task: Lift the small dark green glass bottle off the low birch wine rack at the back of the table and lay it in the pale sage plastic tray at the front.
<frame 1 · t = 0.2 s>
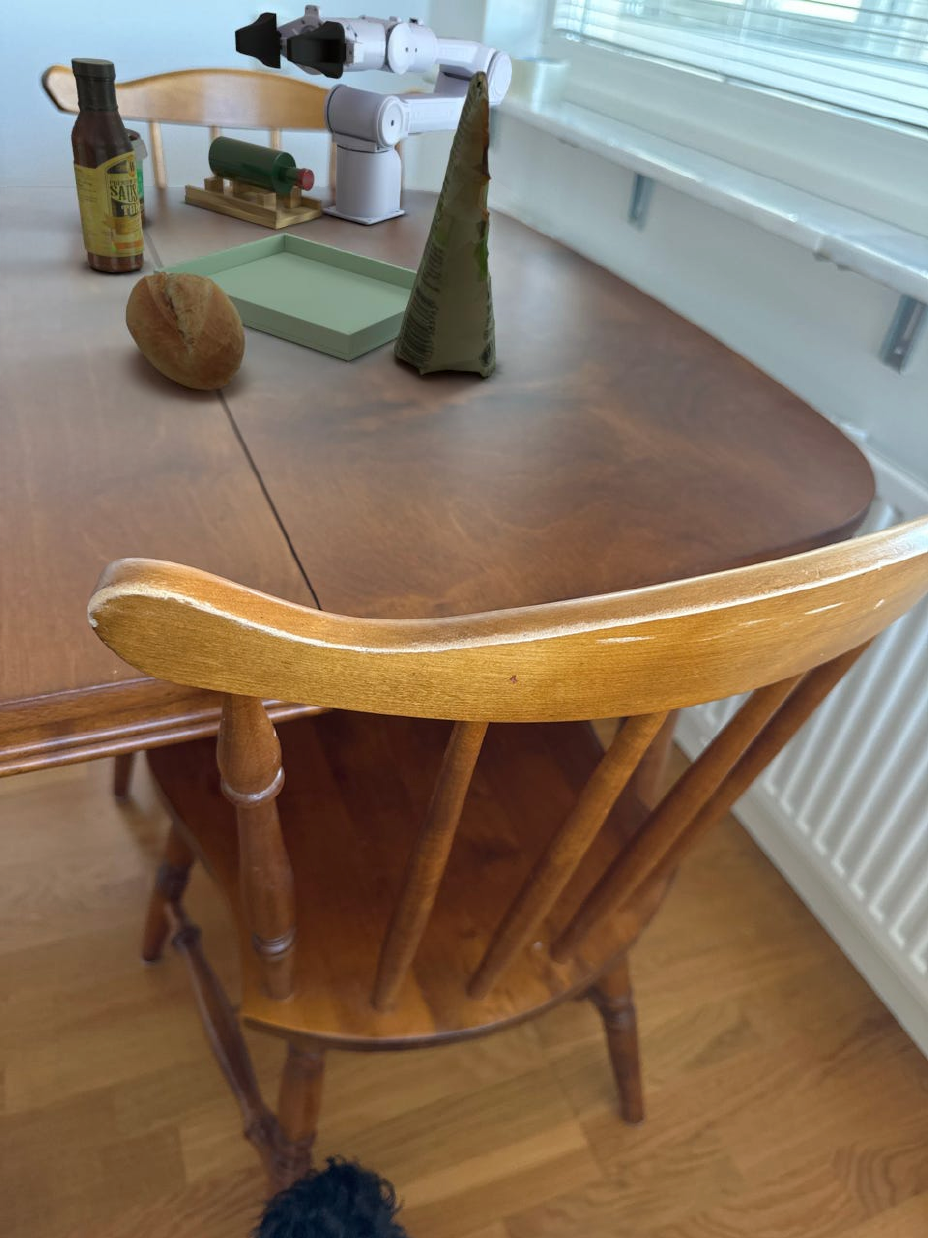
hand: (262, 45, 101), 21 cm above the table, tool horizontal, fingers open, 7 cm apart
bottle: (252, 165, 121), point 6 cm above the table, touching rack
tray: (312, 301, 98), on the table
sauce bottle: (118, 267, 101), on the table
bread roll: (189, 369, 82), on the table
food container: (128, 225, 113), on the table
rack: (254, 209, 124), on the table
olive green tall cone: (448, 364, 89), on the table
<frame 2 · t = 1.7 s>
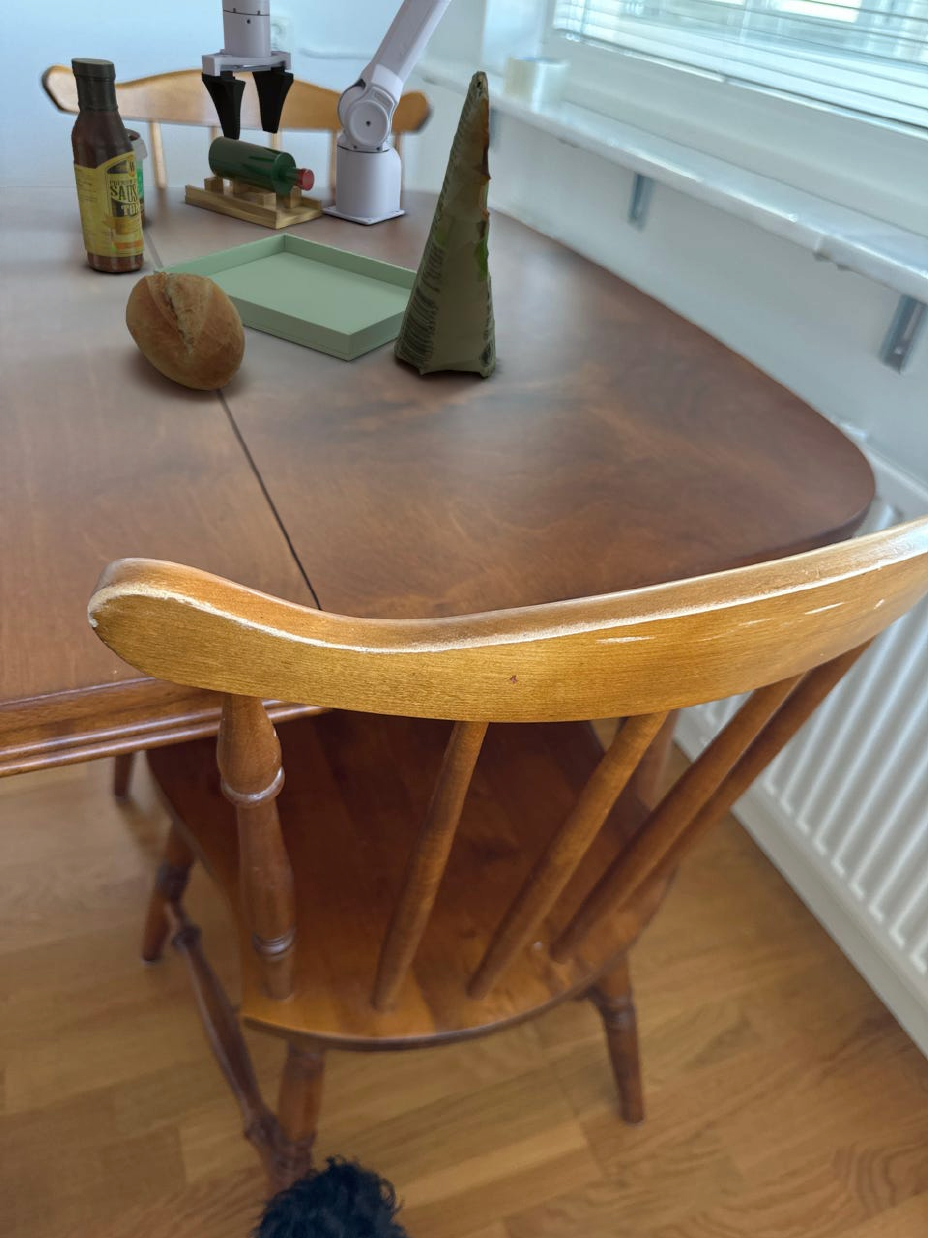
hand: (251, 135, 118), 9 cm above the table, tool pointing down, fingers open, 7 cm apart
nothing on the table moved.
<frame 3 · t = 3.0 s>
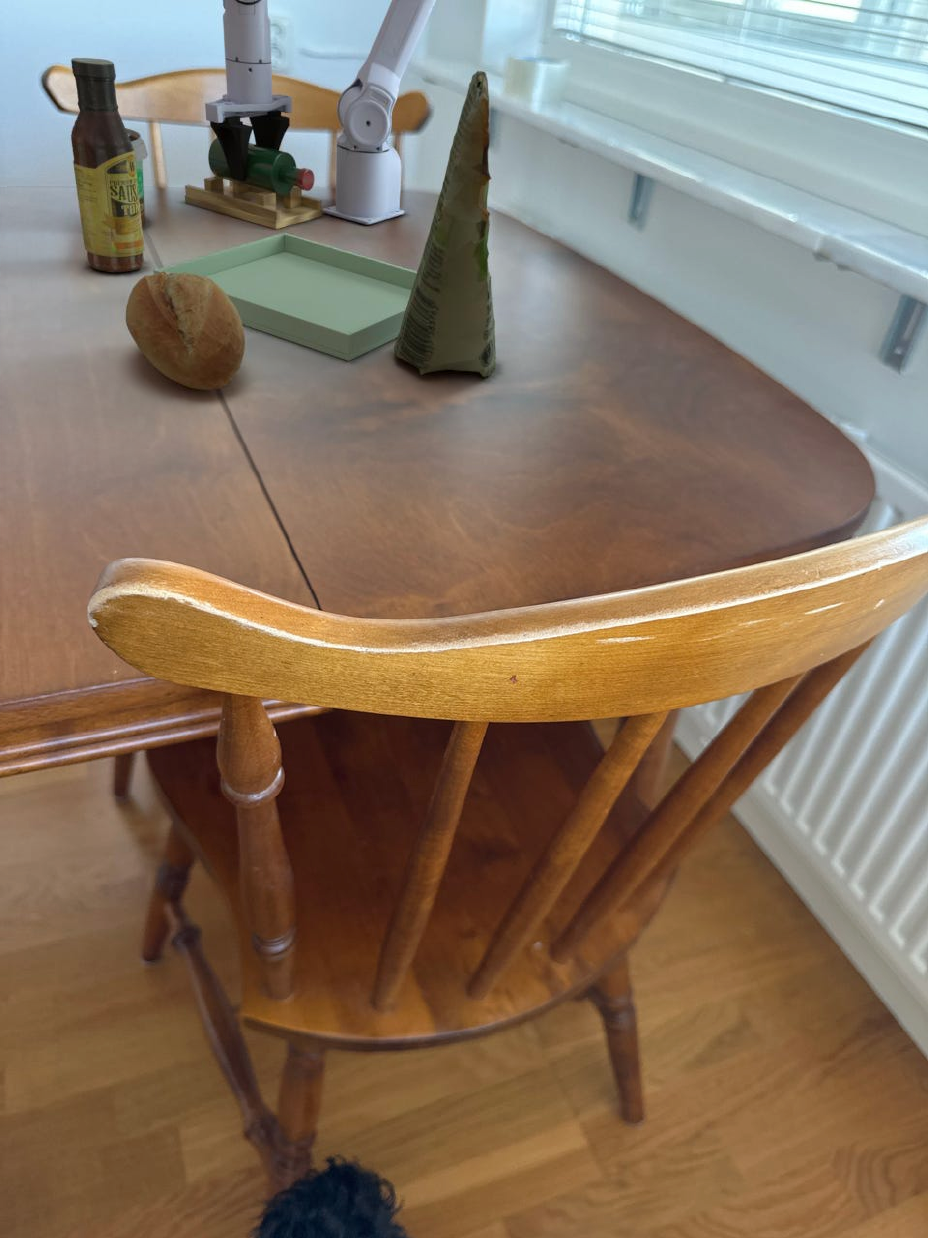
hand: (253, 176, 122), 4 cm above the table, tool pointing down, fingers closed on bottle, 5 cm apart
bottle: (252, 165, 121), point 6 cm above the table, touching gripper, rack
everything else where it was.
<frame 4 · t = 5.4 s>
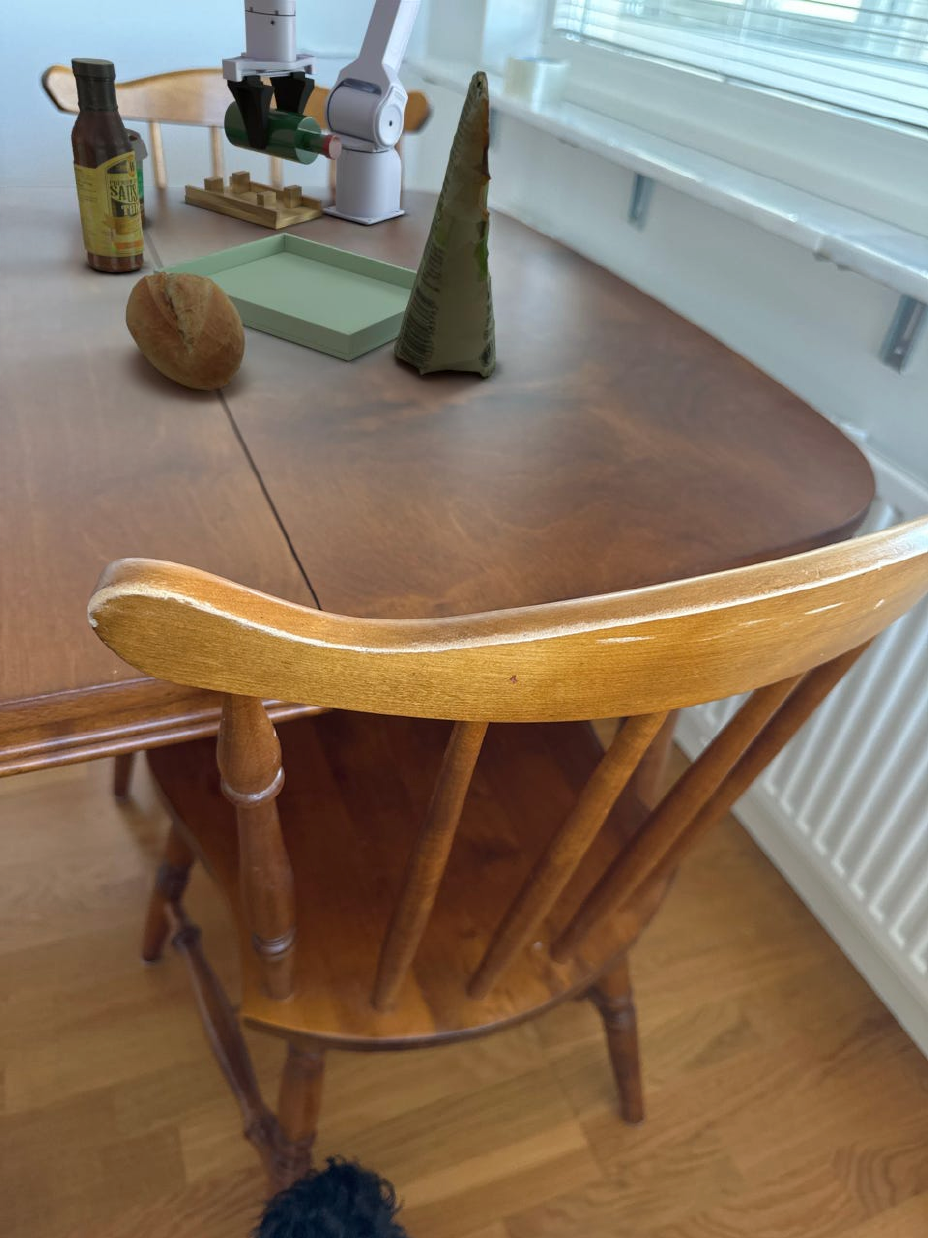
hand: (273, 144, 110), 10 cm above the table, tool pointing down, fingers closed on bottle, 5 cm apart
bottle: (272, 131, 109), point 12 cm above the table, touching gripper
everything else where it was.
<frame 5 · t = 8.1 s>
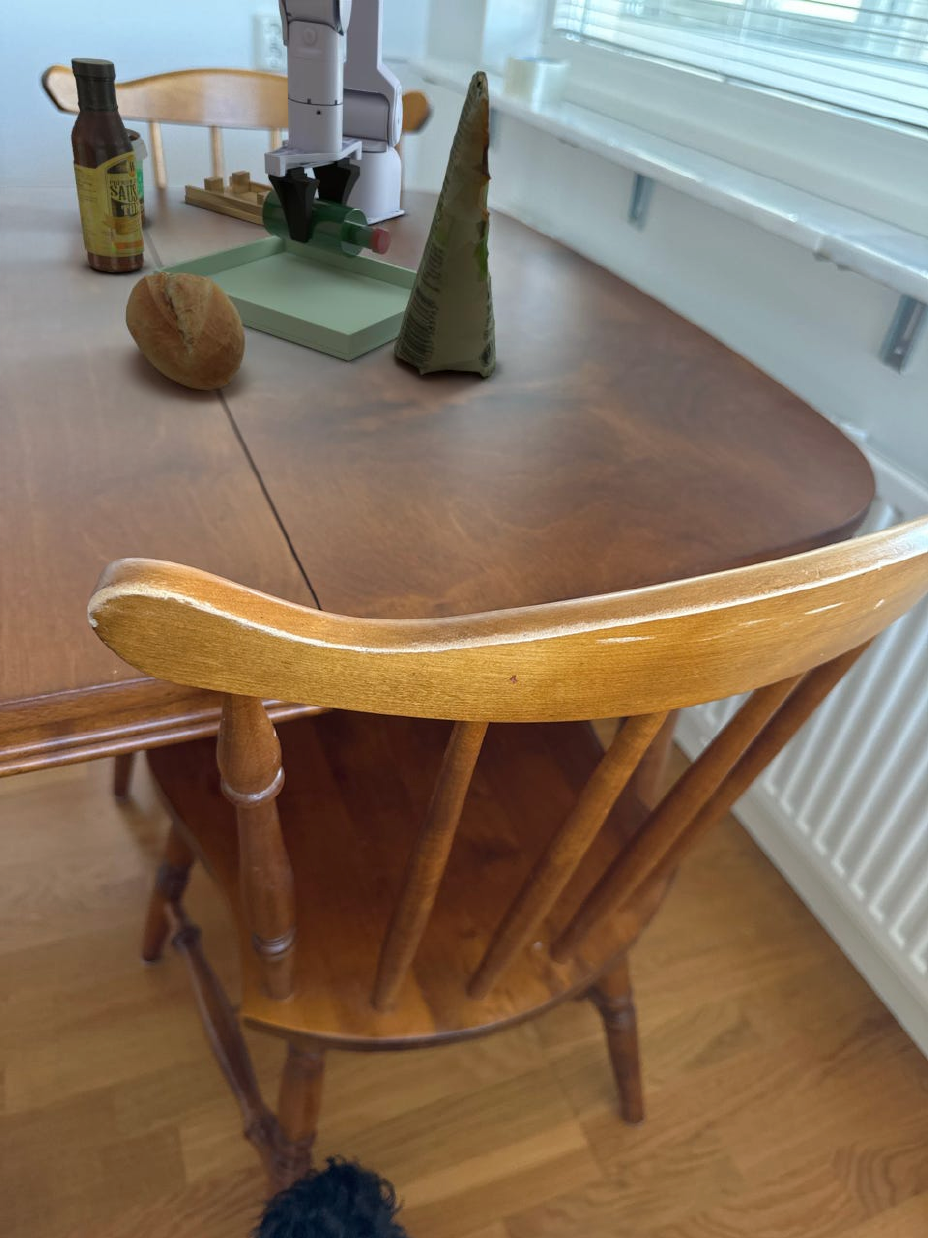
hand: (315, 235, 102), 5 cm above the table, tool pointing down, fingers closed on bottle, 5 cm apart
bottle: (314, 222, 101), point 6 cm above the table, touching gripper
everything else where it was.
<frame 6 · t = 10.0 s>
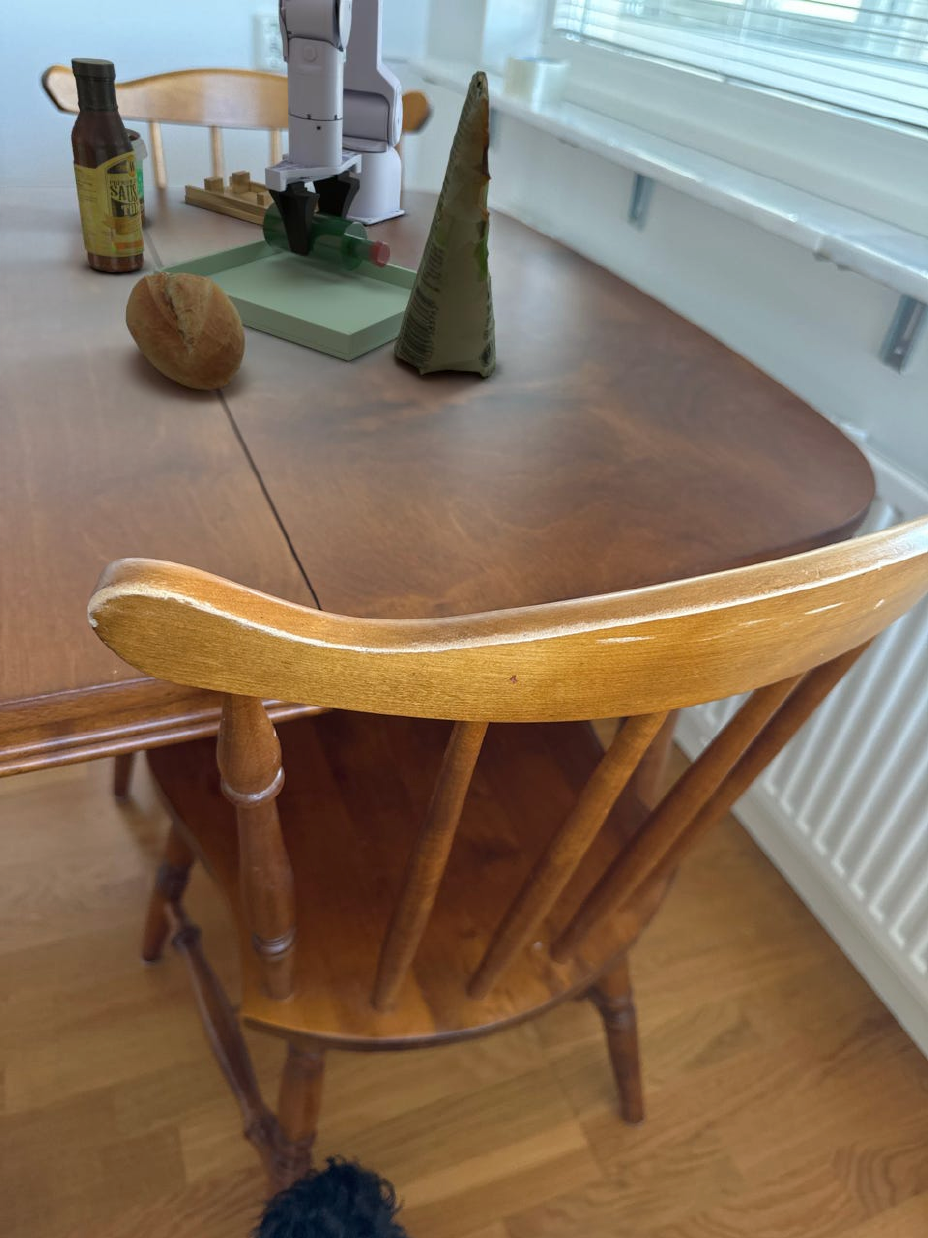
hand: (315, 248, 103), 3 cm above the table, tool pointing down, fingers closed on bottle, 5 cm apart
bottle: (314, 235, 102), point 5 cm above the table, touching gripper
everything else where it was.
when the fingers open (3 cm above the table, at t = 13.1 s): bottle drops 1 cm, resting on tray.
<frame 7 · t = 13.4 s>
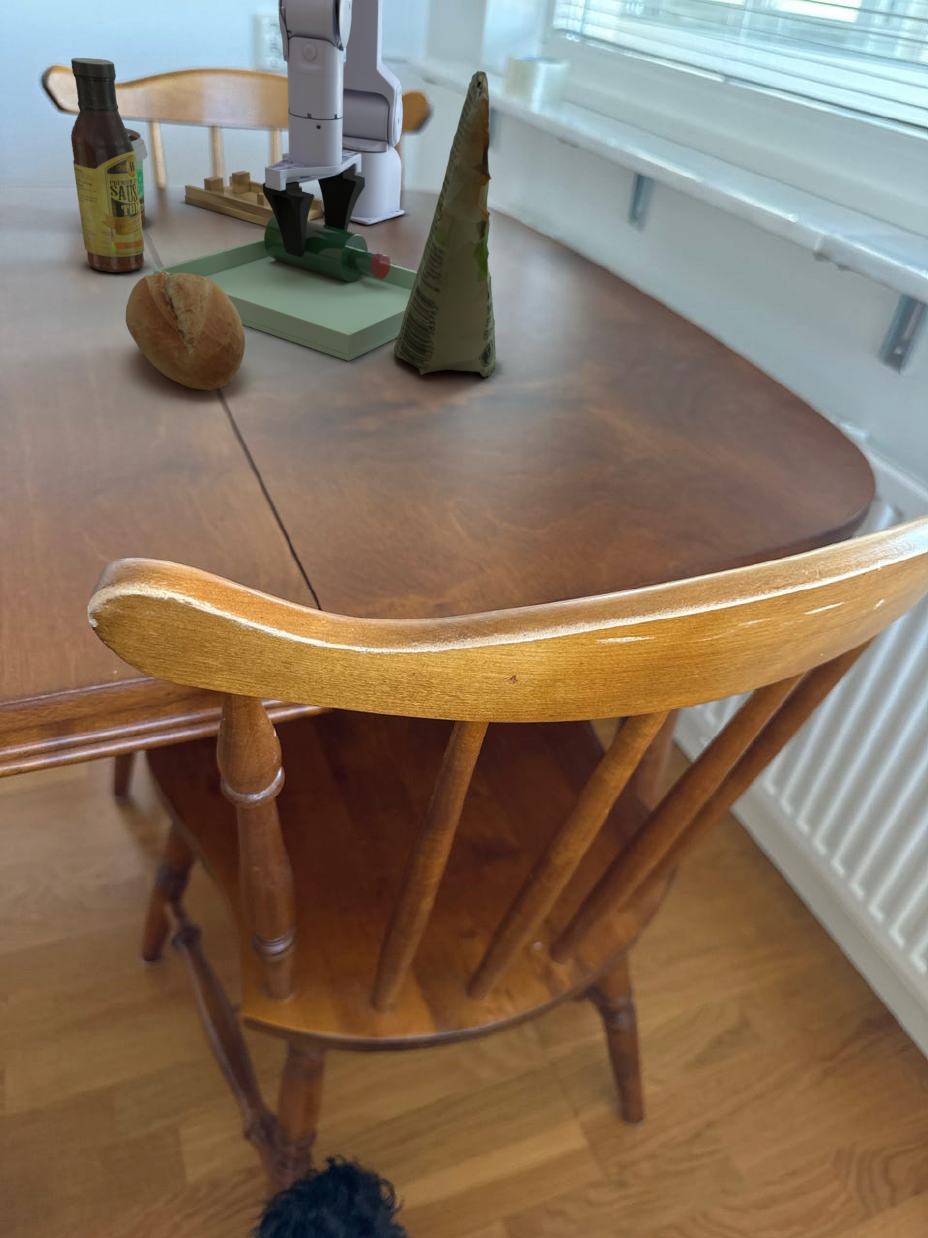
hand: (315, 247, 103), 3 cm above the table, tool pointing down, fingers open, 7 cm apart
bottle: (315, 247, 103), point 3 cm above the table, touching tray
everything else where it was.
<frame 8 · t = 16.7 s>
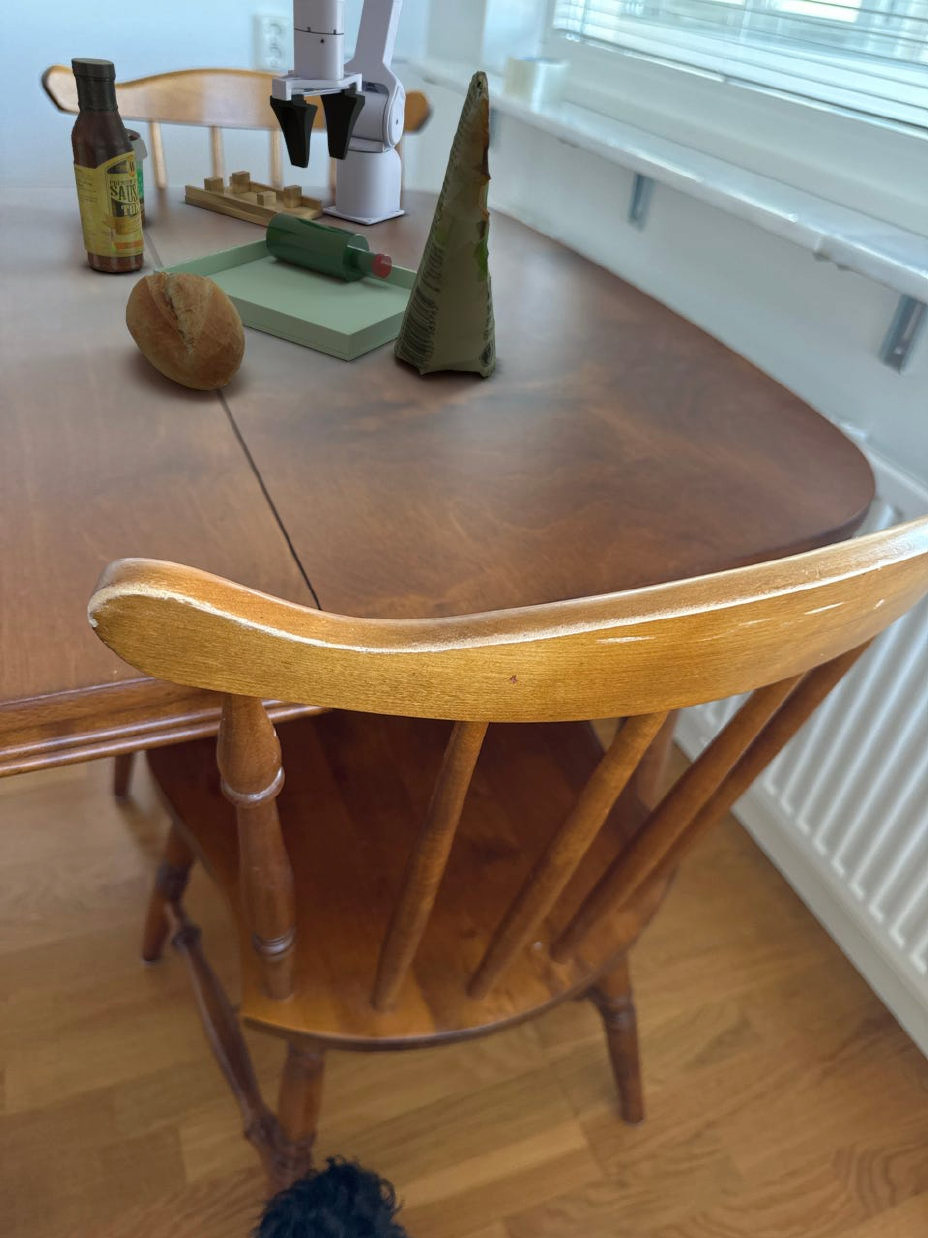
hand: (318, 162, 110), 9 cm above the table, tool pointing down, fingers open, 7 cm apart
bottle: (317, 246, 103), point 3 cm above the table, tilted 11°, touching tray
everything else where it was.
at the end: bottle inside the target area on the tray (5.7 cm from its centre), point 3.2 cm above the tray's base; bottle moved 27.8 cm from its start; the gripper is holding nothing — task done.
